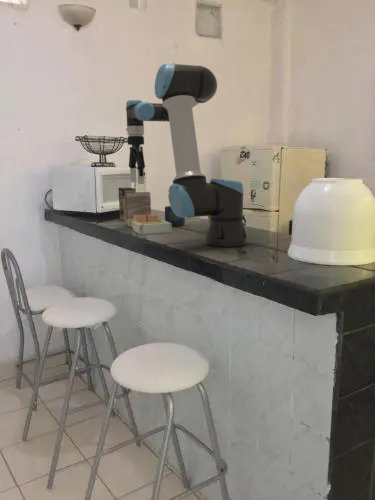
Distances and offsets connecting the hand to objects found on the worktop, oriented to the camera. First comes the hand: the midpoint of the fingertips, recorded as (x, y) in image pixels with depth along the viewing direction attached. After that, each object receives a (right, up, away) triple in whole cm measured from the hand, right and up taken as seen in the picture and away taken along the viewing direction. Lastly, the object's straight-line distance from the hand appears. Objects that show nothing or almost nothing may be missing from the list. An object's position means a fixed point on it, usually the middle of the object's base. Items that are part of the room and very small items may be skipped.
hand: (137, 183), depth 214 cm
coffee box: (-7, -16, +22) cm, 28 cm away
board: (+3, -20, -2) cm, 21 cm away
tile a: (+7, -18, -7) cm, 21 cm away
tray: (+8, -23, -17) cm, 30 cm away
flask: (+18, -20, -1) cm, 27 cm away
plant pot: (+36, -23, -18) cm, 47 cm away
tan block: (0, -16, +3) cm, 16 cm away
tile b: (+2, -19, -9) cm, 21 cm away
